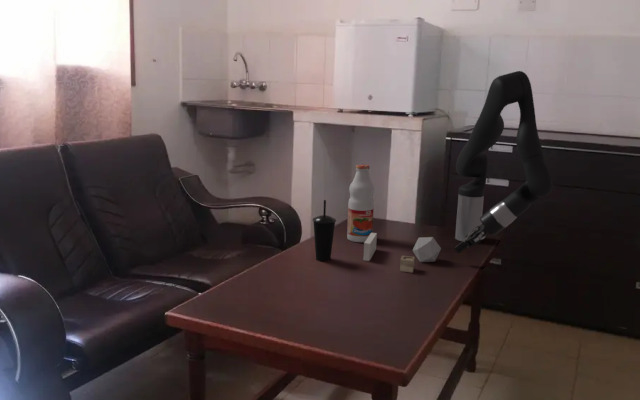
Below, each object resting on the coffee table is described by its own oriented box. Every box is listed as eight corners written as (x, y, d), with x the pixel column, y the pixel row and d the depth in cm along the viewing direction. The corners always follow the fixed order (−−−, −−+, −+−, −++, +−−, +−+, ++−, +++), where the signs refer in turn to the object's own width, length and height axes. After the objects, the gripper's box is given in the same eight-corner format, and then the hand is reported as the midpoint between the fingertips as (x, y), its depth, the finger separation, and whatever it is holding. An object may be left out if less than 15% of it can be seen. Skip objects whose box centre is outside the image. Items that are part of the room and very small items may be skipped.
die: (435, 268, 200) (448, 242, 202) (413, 254, 199) (426, 229, 201) (426, 269, 208) (439, 244, 210) (405, 256, 207) (417, 231, 209)
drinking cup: (307, 260, 202) (308, 200, 198) (318, 254, 208) (320, 196, 204) (328, 264, 198) (330, 203, 194) (338, 258, 205) (340, 199, 201)
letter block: (401, 267, 197) (402, 255, 197) (413, 268, 196) (414, 256, 196) (399, 271, 193) (400, 258, 193) (412, 272, 193) (413, 260, 192)
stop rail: (370, 249, 216) (371, 232, 215) (376, 249, 216) (376, 233, 215) (363, 260, 203) (364, 243, 202) (369, 261, 203) (370, 243, 201)
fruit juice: (363, 235, 235) (366, 162, 229) (377, 241, 226) (380, 166, 221) (342, 237, 230) (344, 163, 224) (355, 244, 222) (358, 167, 216)
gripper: (490, 204, 203) (449, 237, 208) (490, 213, 190) (447, 247, 196) (505, 221, 203) (464, 253, 208) (507, 231, 190) (463, 265, 196)
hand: (456, 250), depth 202 cm, fingers closed
